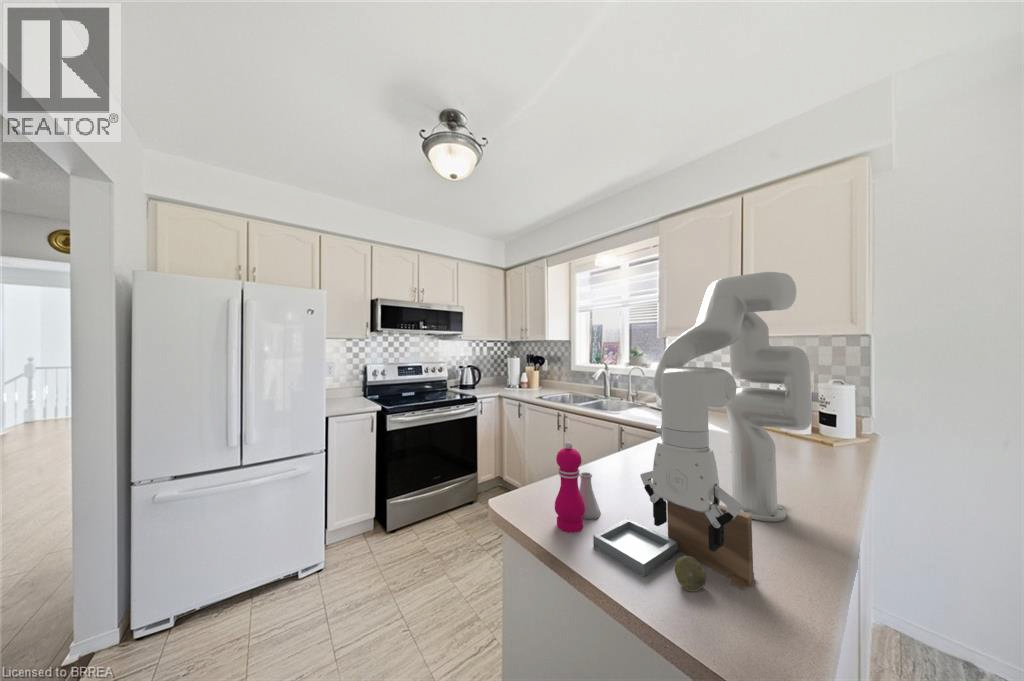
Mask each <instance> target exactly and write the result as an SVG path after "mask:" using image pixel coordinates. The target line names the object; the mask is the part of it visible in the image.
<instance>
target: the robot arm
mask: <svg viewBox="0 0 1024 681" xmlns="http://www.w3.org/2000/svg"><path fill="white" fill-rule="evenodd" d="M796 299H797V286H796V283H795V281H794V279H793V278H792V276H791V275H789V274H787V273H785V272H776V271H761V272H755V273H749V274H741V275H737V276H736V275H735V276H729V277H728V276H727V277H723V278H720V279H717V280H715V281H713V282H712V283H711V284H710V285H709V286H708V287H707V289H706V292H705V294H704V297H703V301H702V304H701V307H700V310H699V313H698V316H697V318H696V323H695V324H694V326H692V327H691V328H689V329H688V330H686V331H685V332H683V333H682V334H681V335H679V336H678V337H677V338H676V339H674V340H673V341H672V342H671V343H670V344H669V345H668V346H667V347H666V348H665V349H664V351H663V353H662V354H661V357H660V360H659V362H658V365H657V367H656V370H655V374H654V379H653V389H654V393H655V394H656V396H657V398H658V399H660V401H661V402H660V403H661V406H660V407H661V425H660V426H659V425H658V426H656V427H655V433H656V434H659V435H660V439H661V440H659V441H657V443H656V447H655V451H654V457H653V463H652V464H653V466H652V470H650V471H646V472H642V473H640V476H639V477H640V478H641V482H642V484H643V485H644V487H643V488H644V490H645V492H646V493H647V495H648V496H649V501H650V502H651V503H652V517H653V519H654V520H653V522H654V523H653V524H654V526H656V527H661V525H664V524H666V523H668V516H667V501H670V502H672V503H675V504H677V505H680V506H683V507H686V508H688V509H691V510H694V511H697V512H700V513H705V514H706V516H707V517H708V519H709V520H710V522H711V523H712V524H711V525H709V527H708V532H709V549H710V550H711V551H713V552H714V551H716V550H717V549H719V548H720V547H722V546H723V545H724V524H726V523H728V522H730V521H731V520H733V519H735V518H736V515H737V514H738V513H739V512H742V513H745V514H748V515H751V519H753V520H757V521H762V522H781V521H783V520H785V519H786V518H787V517H786V516H787V514H786V513H787V512H786V510H785V509H784V508H783V507H782V506H780V505H779V504H778V485H777V484H778V481H777V480H778V479H777V457H776V456H777V455H776V453H777V451H776V443H775V441H774V439H773V438H772V436H771V435H770V434H769V433H768V431H767V430H766V429H765V428H767V427H768V428H775V429H781V430H782V429H783V430H789V431H805V430H807V429H808V428H810V426H811V424H812V420H813V404H812V383H811V369H810V368H811V367H810V361H809V358H808V356H807V353H806V352H805V351H804V350H803V348H801V347H798V346H791V345H778V346H777V345H771V344H770V335H769V334H770V332H769V329H770V328H769V326H768V324H767V323H766V322H765V320H763V318H762V317H761V316H759V315H758V314H757V313H758V312H769V311H774V312H775V311H783V310H784V311H785V310H788V309H790V308H791V307H792V306H793V305H794V303H795V301H796ZM727 347H729V358H730V360H729V361H730V371H731V373H730V372H729V371H727V370H726V369H725V370H724V369H723V368H720V367H719V368H718V367H706V366H705V367H700V366H699V367H698V366H685V365H686V364H688V363H689V362H691V361H692V360H695V359H697V358H700V357H701V356H704V355H709V354H711V353H714V352H717V351H719V350H722V349H726V348H727ZM736 380H737V381H739V382H743V383H751V384H752V383H753V384H754V383H755V384H768V385H781V386H783V387H784V389H774V388H773V389H772V388H763V387H761V388H760V387H737V382H736ZM723 407H725V409H726V410H725V411H726V414H727V420H728V425H729V435H730V461H731V462H730V463H731V488H732V490H731V492H732V493H731V494H729V493H727V492H726V491H725V490H724V489H723V488H721V487H720V479H719V473H718V472H719V471H718V467H717V466H718V465H717V462H716V461H717V460H716V457H715V453H714V450H713V449H712V448H710V436H709V435H710V433H709V430H710V429H709V408H723ZM764 427H765V428H764ZM720 502H722V503H723V504H725V506H726V507H727V508H728V509H727V511H726V512H725V513H724V514H723V513H722V511H721V510H720V508H719V507H718V505H720Z"/></svg>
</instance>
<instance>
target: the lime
mask: <svg viewBox="0 0 1024 681" xmlns="http://www.w3.org/2000/svg"><path fill="white" fill-rule="evenodd" d="M674 564H675V565H674V569H673V570H674V573H675V577H676V579H677V580H678V583H679V585H681V587H683V588H684V589H685V590H686V591H688V592H698V591H700V590H701V589H702V588H704V586H705V585H706V581H707V576H706V571H705V569H704V568H705V567H704V566H703V564H702V563H700V562H698V561H697V560H696V559H695V558H693V557H690V556H686V555H683V556H681V557H679V558H677V559H676V561H675V563H674Z"/></svg>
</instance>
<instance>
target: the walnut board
mask: <svg viewBox="0 0 1024 681" xmlns="http://www.w3.org/2000/svg"><path fill="white" fill-rule="evenodd" d="M666 503H667V537H668V538H670V539H673V540H675V541H677V542H678V549H677V550H678V551H677V552H678V553H677V554H676V551H675V554H676V556H677V555H678V554H682V555H683V556H690V557H693V558H695V559H696V560H697V561H698V562H699V563H700V564H701V565H704V566H706V567H708V568H710V569H712V570H713V571H717V572H718V573H720V574H722V575H724V576H726V577H729V583H730V584H731V585H733V586H735V587H736V588H739V589H740V590H744V589H746V587H748V588H751V587H752V586H753V585H754V584H755V583H754V579H755V572H754V556H753V555H754V553H753V552H754V551H753V550H754V549H753V526H752V523H753V522H752V518H751V515H748V514H745V513H742V512H739V513H738V514H737V515H736V518H735V519H733V520H731V521H730V522H728V523H726V524H724V545H723V546H722V547H720V548H719V549H717V550H716V551H714V552H713V551H711V550H710V549H709V532H708V527H709V525H711V524H712V523H711V522H710V520H709V519H708V517H707V516H706V514H705V513H700V512H697V511H694V510H691V509H688V508H686V507H683V506H680V505H677V504H675V503H672V502H670V501H667V500H666ZM718 507H719V508H720V510H721V511H722V513H723V514H724V513H725V512H726V511H727V509H728V508H727V506H726V505H722V504H719V505H718Z"/></svg>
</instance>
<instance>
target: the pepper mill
mask: <svg viewBox="0 0 1024 681" xmlns="http://www.w3.org/2000/svg"><path fill="white" fill-rule="evenodd" d="M556 464H557V466H558V476H559V478H560V487H559V490H558V493H557V496H556V498H555V501H554V511H555V513H556V515H557V516H556V526H557V528H558V529H559V530H560V531H562V532H565V533H572V534H573V533H579V532H580V531H583V529H584V518H582V516H583V515H584V513H585V504H584V501H583V498H582V496H581V494H580V491H579V489H580V486H579V483H578V482H579V481H578V480H579V478H580V471H581V470H580V469H579V468H580V467H581V465H582V456H581V453H580V452H579V451H578V450H577V449H575V448H573V443H572V442H571V441H567V442H565V443H564V448H561V449H560V450H559V451H558V452H557V454H556Z"/></svg>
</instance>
